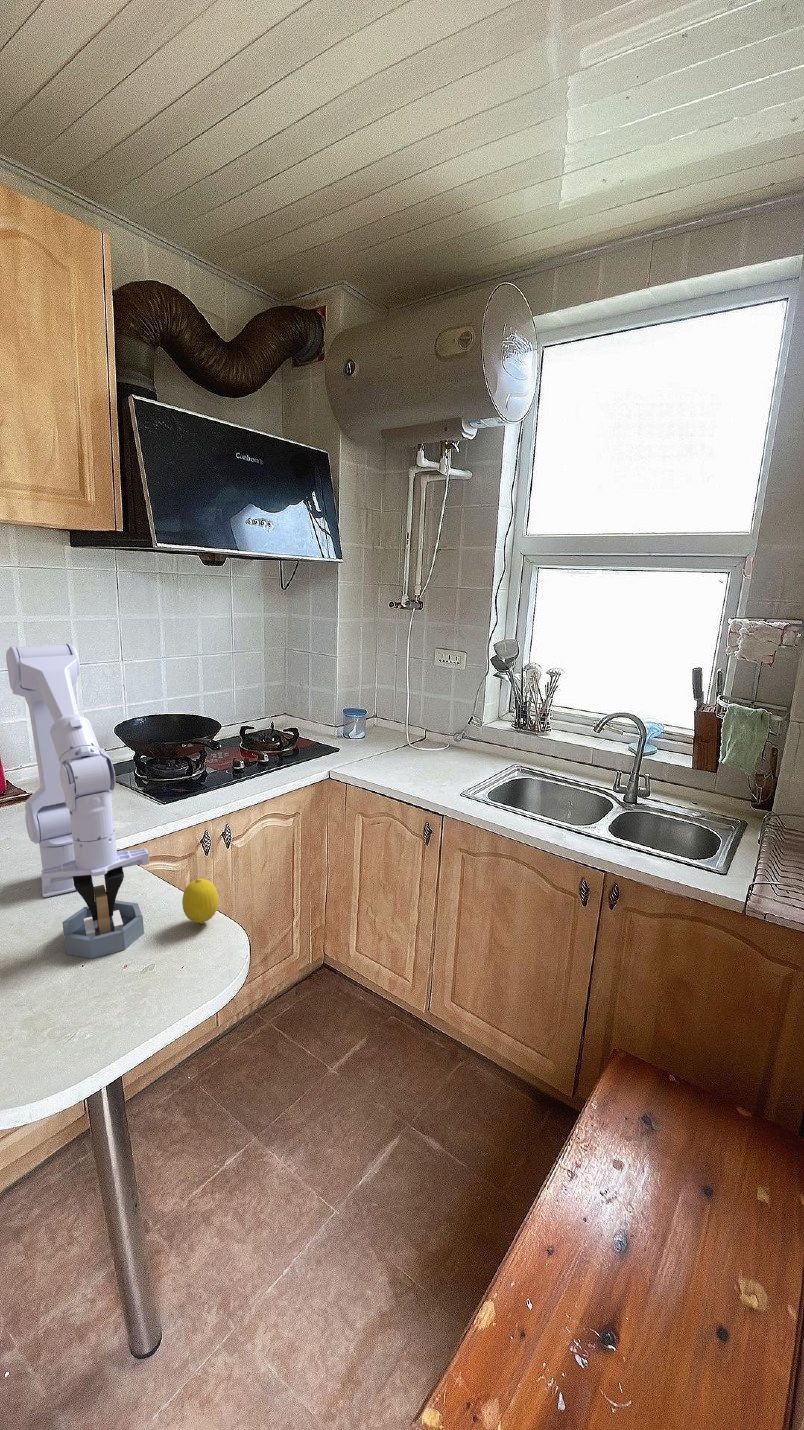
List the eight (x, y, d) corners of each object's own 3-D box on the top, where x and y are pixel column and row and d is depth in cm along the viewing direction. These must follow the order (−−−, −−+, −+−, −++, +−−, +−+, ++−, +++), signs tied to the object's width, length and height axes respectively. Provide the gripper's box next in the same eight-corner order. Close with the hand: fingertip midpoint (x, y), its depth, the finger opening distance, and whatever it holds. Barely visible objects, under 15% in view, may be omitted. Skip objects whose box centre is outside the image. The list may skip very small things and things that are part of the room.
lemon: (223, 914, 101) (220, 870, 100) (214, 932, 96) (211, 887, 94) (190, 914, 101) (186, 870, 99) (179, 933, 96) (175, 887, 94)
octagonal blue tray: (63, 929, 96) (61, 912, 96) (136, 910, 102) (135, 894, 101) (67, 965, 87) (65, 947, 87) (147, 943, 93) (146, 925, 92)
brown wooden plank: (97, 927, 96) (93, 886, 94) (108, 924, 96) (103, 884, 95) (100, 939, 92) (96, 898, 91) (111, 936, 93) (107, 895, 92)
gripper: (38, 854, 84) (49, 941, 87) (149, 833, 91) (156, 914, 94) (37, 836, 90) (48, 919, 93) (142, 818, 97) (148, 894, 100)
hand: (102, 915), depth 94 cm, fingers closed on brown wooden plank
